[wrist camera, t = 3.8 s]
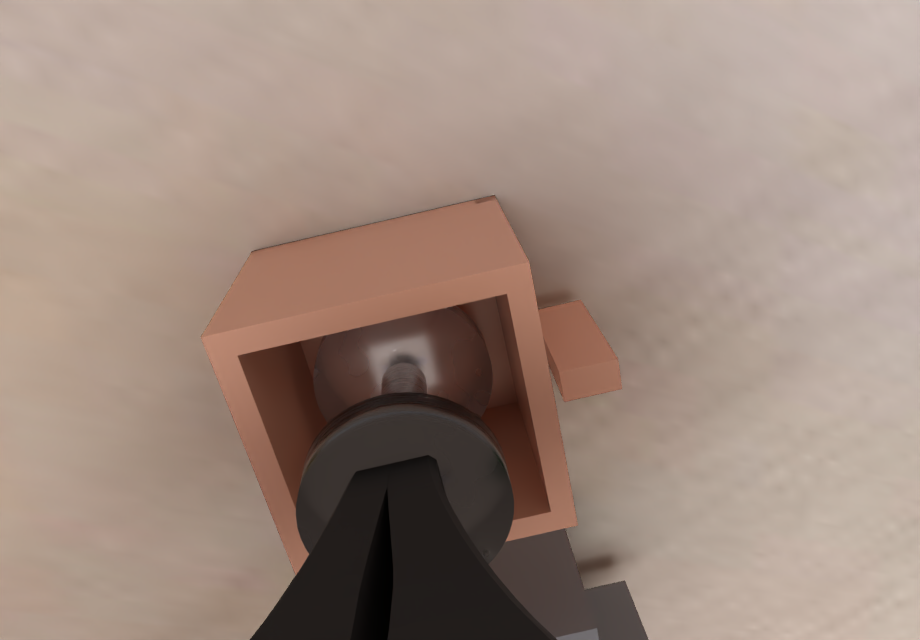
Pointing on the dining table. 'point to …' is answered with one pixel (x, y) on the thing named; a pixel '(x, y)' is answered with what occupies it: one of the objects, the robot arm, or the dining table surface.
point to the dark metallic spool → (408, 419)
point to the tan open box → (392, 297)
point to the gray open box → (565, 591)
